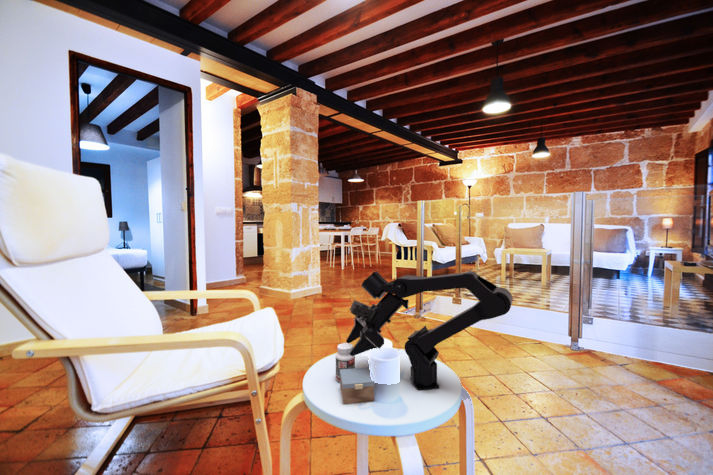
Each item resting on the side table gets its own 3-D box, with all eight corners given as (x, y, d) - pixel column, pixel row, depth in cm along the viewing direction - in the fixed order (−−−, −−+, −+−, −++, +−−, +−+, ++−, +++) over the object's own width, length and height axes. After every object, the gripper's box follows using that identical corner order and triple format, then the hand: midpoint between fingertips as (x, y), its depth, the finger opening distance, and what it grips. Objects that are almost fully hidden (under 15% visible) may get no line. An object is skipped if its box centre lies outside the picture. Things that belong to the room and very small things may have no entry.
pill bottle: (352, 384, 86) (352, 350, 86) (333, 382, 87) (333, 349, 87) (356, 374, 92) (356, 342, 91) (338, 373, 93) (338, 341, 92)
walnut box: (368, 384, 86) (368, 371, 86) (374, 401, 78) (374, 386, 78) (340, 387, 85) (340, 373, 85) (343, 404, 77) (343, 388, 77)
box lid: (368, 371, 86) (368, 367, 86) (374, 387, 77) (374, 382, 77) (339, 374, 85) (339, 369, 85) (343, 390, 76) (342, 385, 76)
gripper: (361, 285, 99) (327, 320, 98) (372, 299, 80) (331, 343, 79) (384, 308, 100) (352, 342, 99) (400, 326, 82) (360, 370, 81)
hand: (348, 348), depth 90 cm, fingers open, 9 cm apart
